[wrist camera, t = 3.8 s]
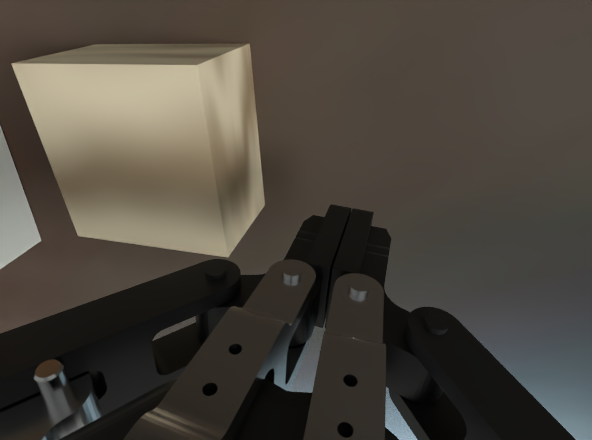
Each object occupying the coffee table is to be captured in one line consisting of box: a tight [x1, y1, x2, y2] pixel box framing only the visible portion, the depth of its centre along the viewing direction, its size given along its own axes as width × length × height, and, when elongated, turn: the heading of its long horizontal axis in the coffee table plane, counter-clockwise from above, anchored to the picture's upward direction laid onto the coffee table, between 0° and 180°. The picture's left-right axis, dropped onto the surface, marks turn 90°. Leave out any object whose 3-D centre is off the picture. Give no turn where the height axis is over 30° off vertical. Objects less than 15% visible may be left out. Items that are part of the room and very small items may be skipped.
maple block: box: [11, 44, 265, 257], centre depth 19 cm, size 8×8×5 cm
